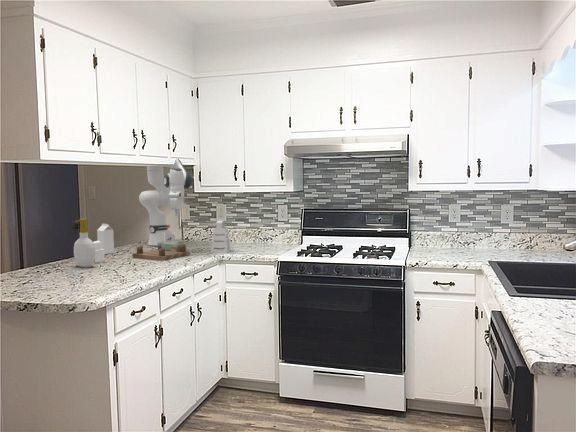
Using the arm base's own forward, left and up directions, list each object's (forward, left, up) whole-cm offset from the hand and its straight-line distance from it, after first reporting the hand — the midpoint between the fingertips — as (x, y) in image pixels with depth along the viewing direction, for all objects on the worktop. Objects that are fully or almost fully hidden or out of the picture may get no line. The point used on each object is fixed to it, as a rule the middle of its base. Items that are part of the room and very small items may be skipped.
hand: (177, 215), depth 304 cm
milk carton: (+23, -40, -24) cm, 52 cm away
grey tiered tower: (-18, +20, -24) cm, 36 cm away
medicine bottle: (+47, -20, -24) cm, 56 cm away
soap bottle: (+60, -13, -24) cm, 66 cm away
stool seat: (+15, 0, -24) cm, 28 cm away
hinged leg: (+6, -3, -21) cm, 22 cm away
